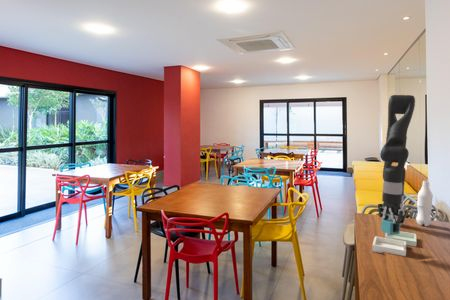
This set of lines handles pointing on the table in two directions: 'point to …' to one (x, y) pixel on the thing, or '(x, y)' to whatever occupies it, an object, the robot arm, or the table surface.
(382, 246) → the cream tray
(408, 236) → the sage tray
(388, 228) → the teal cube
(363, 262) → the table surface
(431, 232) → the table surface
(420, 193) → the water bottle
